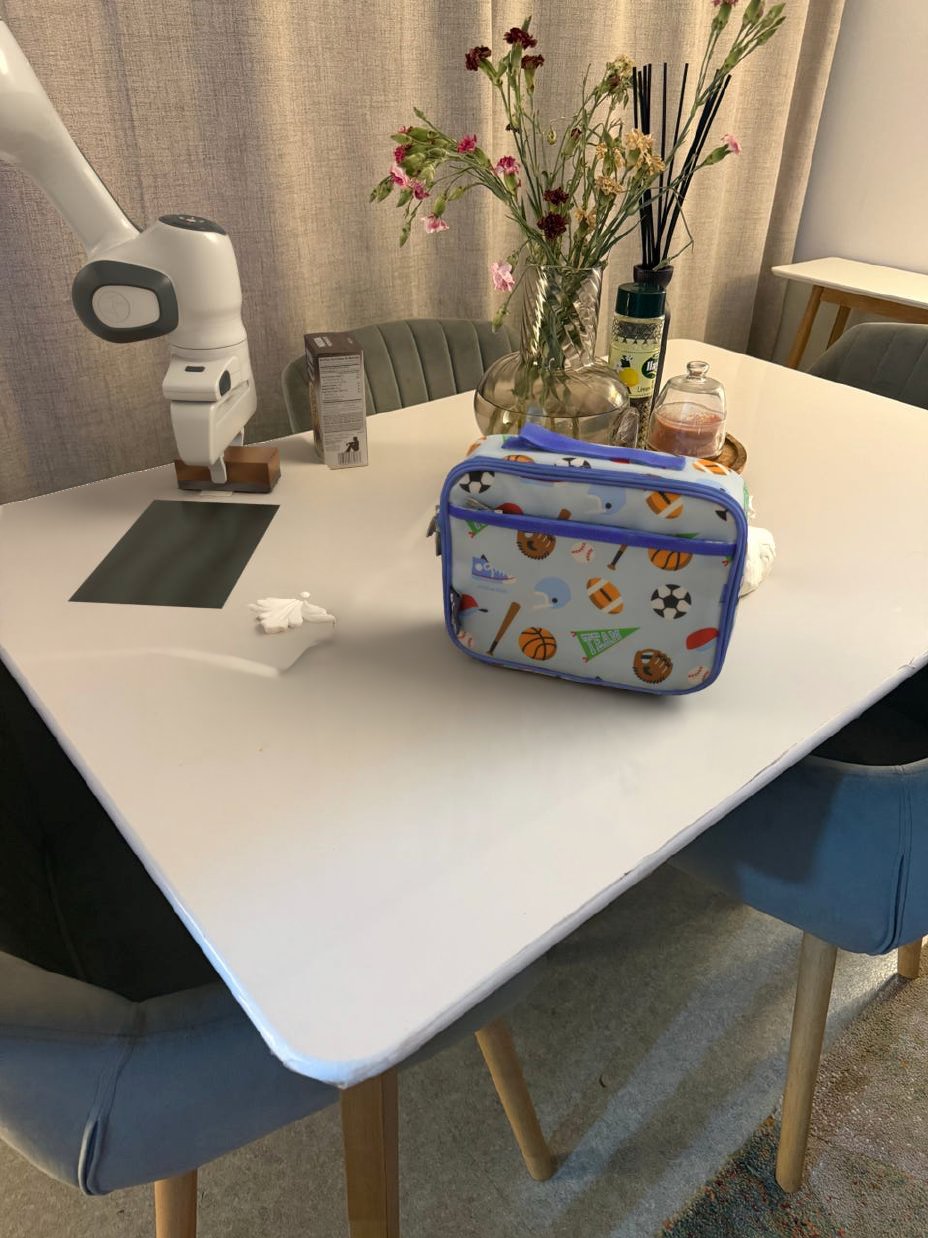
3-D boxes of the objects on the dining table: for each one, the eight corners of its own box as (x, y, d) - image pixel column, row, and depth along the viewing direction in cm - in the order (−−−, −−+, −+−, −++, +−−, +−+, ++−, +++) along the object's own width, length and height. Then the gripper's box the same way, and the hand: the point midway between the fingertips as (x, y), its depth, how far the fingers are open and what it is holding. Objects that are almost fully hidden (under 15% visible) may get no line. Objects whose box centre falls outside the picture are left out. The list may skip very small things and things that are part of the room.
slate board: (56, 613, 90) (53, 605, 90) (150, 502, 112) (149, 495, 111) (229, 621, 89) (228, 614, 89) (291, 508, 111) (290, 501, 110)
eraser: (178, 488, 113) (173, 459, 110) (191, 472, 117) (186, 443, 115) (271, 492, 112) (267, 462, 110) (281, 476, 116) (277, 447, 114)
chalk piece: (200, 501, 112) (198, 494, 112) (209, 488, 116) (208, 481, 115) (231, 502, 112) (229, 495, 111) (240, 489, 115) (239, 482, 115)
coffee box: (312, 446, 128) (302, 332, 119) (356, 441, 129) (349, 329, 120) (323, 471, 120) (313, 352, 112) (370, 465, 122) (363, 348, 113)
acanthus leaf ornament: (337, 628, 88) (335, 612, 87) (271, 648, 85) (269, 632, 84) (307, 593, 94) (305, 578, 93) (245, 611, 91) (242, 596, 90)
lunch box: (417, 664, 83) (412, 442, 71) (450, 608, 92) (451, 401, 80) (717, 720, 77) (767, 486, 65) (723, 653, 85) (768, 436, 73)
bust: (755, 585, 100) (722, 491, 100) (809, 571, 94) (773, 470, 94) (681, 617, 95) (645, 517, 94) (732, 605, 88) (693, 498, 88)
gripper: (214, 338, 115) (228, 439, 122) (155, 390, 98) (177, 504, 105) (261, 339, 114) (273, 441, 122) (211, 392, 97) (229, 506, 105)
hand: (228, 470), depth 113 cm, fingers closed on eraser, 5 cm apart
